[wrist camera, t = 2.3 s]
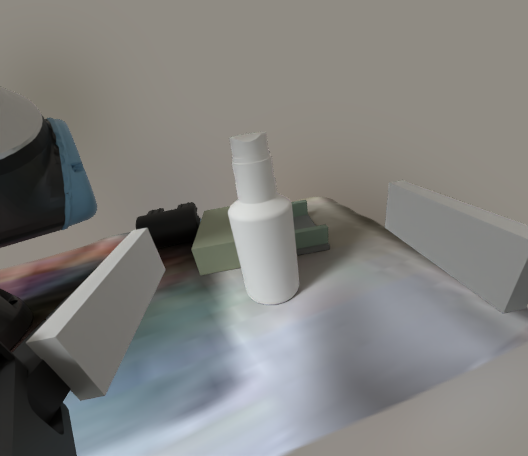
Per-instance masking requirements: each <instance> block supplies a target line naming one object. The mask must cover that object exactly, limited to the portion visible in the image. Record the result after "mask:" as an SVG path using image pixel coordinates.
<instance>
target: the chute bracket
mask: <svg viewBox="0 0 528 456" xmlns="http://www.w3.org/2000/svg"><path fill="white" fill-rule="evenodd" d="M229 208H230V206H229V207H224V208H218V209H213V210H207V211H204V214H203V217H202V220H201V223H200V225H199V228H198V231H197V234H196V237H195V240H194V243H193V246H192V249H191V250H192V253H193V256H194V258H195V261H196V264H197V267H198V270H199V273H200V275H205V274H210V273H215V272H221V271H226V270H232V269H237V268H241V266H240V262H239V258H238V254H237V250H236V246H235V241H234V237H233V233H232V229H231V225H230V221H229V217H228V210H229ZM292 211H293V221H294V232H295V242H296V253H297V255H301V254H307V253H312V252H318V251H323V250H328V249H330V246H329V243H328V227H327V226H326V224H325V225H320V226H316V225H315V224H314V223H313V221H312V220H311V218H310V217H309V216H308V211H307V201H306V200H302V201H296V202H292Z"/></svg>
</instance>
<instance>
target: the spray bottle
mask: <svg viewBox="0 0 528 456" xmlns="http://www.w3.org/2000/svg"><path fill="white" fill-rule="evenodd" d="M229 140H230V145H231V150H232V155H233V157H232V159H233V162H232V167H233V172H234V177H235V181H236V184H235V186H236V191H237V195H238V200H237V201H236V202H234V203H233V204H232V205H231V206H230V208H229V210H228V217H229V221H230V225H231V229H232V233H233V237H234V241H235V246H236V250H237V254H238V258H239V262H240V266H241V271H242V275H243V279H244V283H245V287H246V291H247V294H248V295H249V296H250V298H251V299H252V300H254V301H256V302H258V303H260V304H265V305H276V304H280V303H283V302H285V301H287V300H289V299H290V298H292V297H293V296H294V294H295V293H296V292H297V290H298V287H299V274H298V263H297V253H296V242H295V232H294V221H293V211H292V202H291V200H290V199H289V198H288V197H286V196H284V195H282V194H280V193H277V188H276V180H275V177H274V171H273V163H272V156H270V151H269V150H268V143H267V136H266V132H254V133H248V134H242V135H237V136H234V137H230V138H229Z"/></svg>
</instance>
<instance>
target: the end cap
mask: <svg viewBox="0 0 528 456" xmlns="http://www.w3.org/2000/svg"><path fill="white" fill-rule="evenodd" d="M163 211H164V209H163V208H162V209H161V208H159V209H157V210H152V211H149V212H148V214H147V215H145V216H140V217H138V218H137V220H136V230H137V229H142V228H148V230H149V233H150V235H151V237H152V240H153V242H154V244H155V247H156V249H158V248H162V247H167V246H171V245H176V244H180V243H185V242H189V241H193V240H195V237H196V234H197V231H198V228H199V225H200V218H199V216H198V215H197V208H196V206H195V204H194V203H192V202H191V203H187V204H181V205H179V206H178V208H177V209H174V210H169V211H164V212H163Z"/></svg>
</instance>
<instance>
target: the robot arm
mask: <svg viewBox="0 0 528 456" xmlns="http://www.w3.org/2000/svg"><path fill="white" fill-rule="evenodd" d="M96 211H97V204H96V200H95V197H94V194H93V191H92V188H91V185H90V183H89V180H88V177H87V175H86V172H85V170H84V168H83V164H82V162H81V159H80V156H79V153H78V150H77V148H76V145H75V143H74V140H73V138H72V135H71V133H70V131H69V128H68V126H67V124H66V123H65V122H64V121H62V120H60V119H53V118H47V119H44V117H43V116H42V114H41V113H40V111H39V109H38V108H37V107H36V106H35V105H34V103H33V102H32V101H30V100H29V99H28V98H26V97H24V96H23V95H20V94H18V93H16V92H14V91H11V90H8V89H6V88H4V87H1V86H0V248H1V247H5V246H8V245H11V244H15V243H18V242H22V241H25V240H28V239H32V238H35V237H38V236H42V235H45V234H49V233H52V232H56V231H59V230H64V229H67V228H68V227H69V226H71V225H74V224H77V223H80V222H82V221H85V220H88V219H90V218H91V217H93V216H94V215H95V213H96ZM385 228H386V229H387V230H389V231H390V232H392V233H393V234H394V235H396V236H397V237H398V238H400V239H401V240H403V241H404V242H405V243H407V244H408V245H409V246H411V247H412V248H414V249H415V250H416V251H418V252H419V253H420V254H422V255H423V256H425V257H426V258H427V259H429V260H430V261H431V262H433V263H434V264H436V265H437V266H438V267H440V268H441V269H442V270H444V271H445V272H447V273H448V274H449V275H451V276H452V277H453V278H455V279H456V280H458V281H459V282H460V283H462V284H463V285H464V286H466V287H467V288H469V289H470V290H471V291H473V292H474V293H475V294H477V295H478V296H480V297H481V298H482V299H484V300H485V301H486V302H488V303H489V304H491V305H492V306H493V307H495V308H496V309H497V310H499V311H500V312H502V313H508V312H513V311H518V310H523V309H525V308H526V306H527V304H528V225H526V224H524V223H521V222H518V221H515V220H512V219H510V218H507V217H504V216H501V215H499V214H496V213H493V212H490V211H487V210H485V209H482V208H479V207H476V206H474V205H471V204H468V203H465V202H463V201H460V200H457V199H454V198H451V197H448V196H446V195H443V194H440V193H437V192H435V191H432V190H429V189H426V188H424V187H421V186H418V185H415V184H413V183H410V182H407V181H404V180H400V181H395V182H389V188H388V198H387V209H386V219H385ZM165 270H166V269H165V267H164V265H163V263H162V260H161V258H160V256H159V253H158V251H157V249H156V247H155V244H154V242H153V240H152V237H151V235H150V233H149V230H148V228H142V229H137V230H132V232H131V233H130V234H129V235H128V236H127V237H126V238H125V239H124V240H123V241H122V242H121V243H120V244H119V245H118V246H117V247H116V248H115V249H114V250H113V251H112V253H111V254H110V255H109V256H108V257H107V258H106V259H105V260H104V261H103V262H102V263H101V264H100V265H99V266H98V267H97V268H96V269H95V270H94V271H93V272H92V274H91V275H90V276H89V277H88V278H87V279H86V280H85V281H84V282H83V283H82V284H81V285H80V286H79V287H78V288H77V289H76V290H75V291H74V292H73V293H71V294H70V295H69V296H67V297H66V298H65V299H64V300H63V301H62V302H61V303H60V304H59V305H58V306H57V307H56V308H55V311H52V312H51V313H50V314H49V315H48V316H47V317H46V320H43V321H42V322H41V323H40V324H39V326H38V327H37V328H36V329H35V330H34V331H33V332H32V333H31V334H30V335H29V336H28V337H27V338H26V339H25V340H24V341H23V342H22V343H21V344H20V345H19V346H18V347H17V348H16V349H15V350H14V351H13V352H11V351H10V349H11V348H12V347H13V346H14V345H15V344H16V343H17V342H18V341H19V340H20V338H21V337H22V336H23V335H24V333H25V332H26V331H27V329H28V327H29V326H30V324H31V321H32V318H33V314H32V311H31V310H30V309H29V308H28V306H27V305H26V304H25V303H24V302H23V301H22V300H21V299H20V298H18V297H16V296H14V295H12V294H10V293H8V292H6V291H4V290H2V289H0V456H77V455H76V449H75V443H74V438H73V432H72V427H71V421H70V416H69V410H68V408H67V407H66V405H65V404H64V403H63V401H64V399H65V397H66V396H67V394H68V393H69V391H70V390H71V391H72V392H73V393H74V394H75V395H76V396H77V398H78V399H79V400H80V401H81V400H86V399H91V398H96V397H101V396H105V394H106V392H107V390H108V388H109V386H110V384H111V382H112V380H113V378H114V376H115V374H116V372H117V370H118V367H119V365H120V363H121V361H122V359H123V357H124V355H125V353H126V351H127V349H128V347H129V345H130V343H131V340H132V338H133V336H134V334H135V332H136V330H137V328H138V326H139V324H140V322H141V320H142V318H143V316H144V313H145V311H146V309H147V307H148V305H149V303H150V301H151V299H152V297H153V295H154V293H155V291H156V289H157V286H158V284H159V282H160V280H161V278H162V276H163V274H164V272H165Z"/></svg>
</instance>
